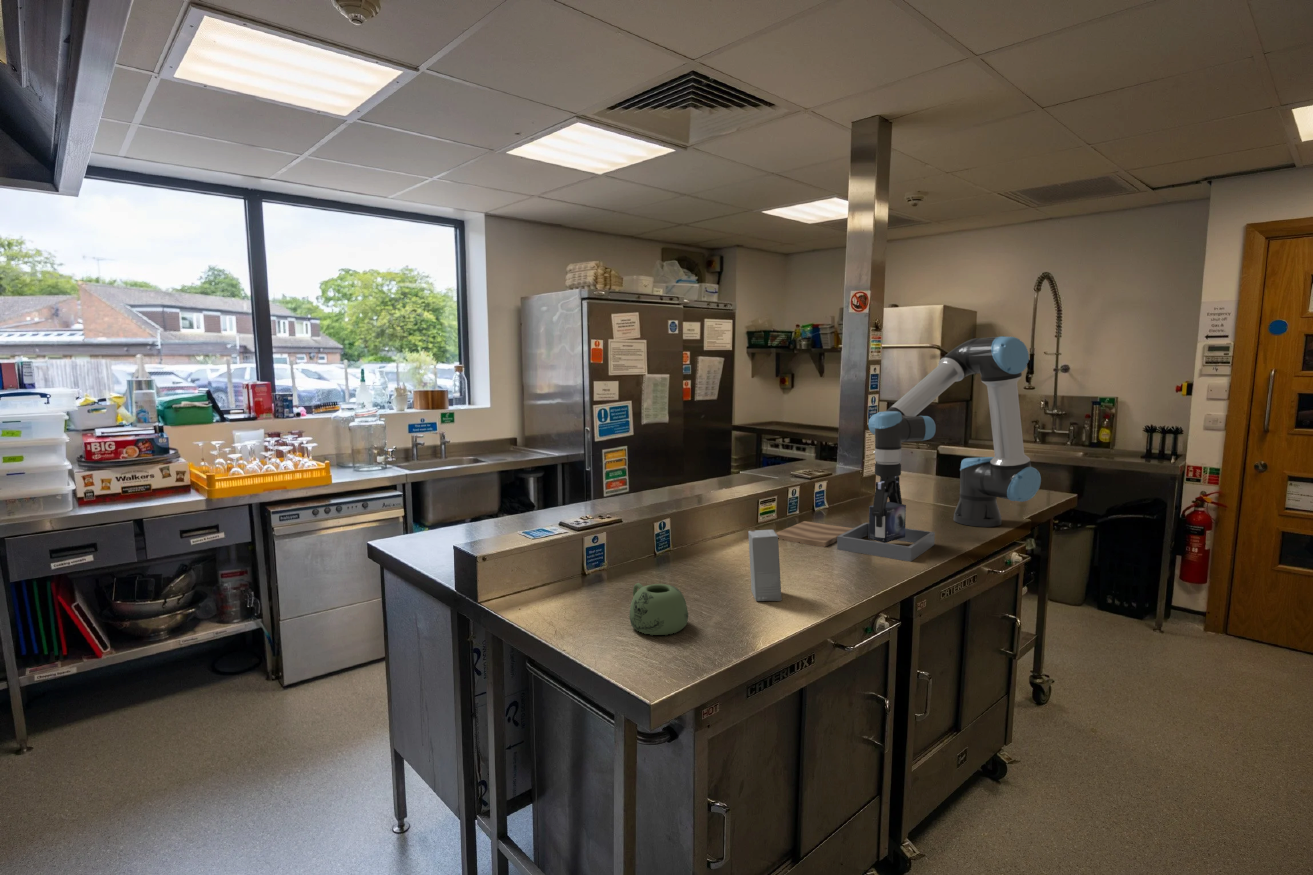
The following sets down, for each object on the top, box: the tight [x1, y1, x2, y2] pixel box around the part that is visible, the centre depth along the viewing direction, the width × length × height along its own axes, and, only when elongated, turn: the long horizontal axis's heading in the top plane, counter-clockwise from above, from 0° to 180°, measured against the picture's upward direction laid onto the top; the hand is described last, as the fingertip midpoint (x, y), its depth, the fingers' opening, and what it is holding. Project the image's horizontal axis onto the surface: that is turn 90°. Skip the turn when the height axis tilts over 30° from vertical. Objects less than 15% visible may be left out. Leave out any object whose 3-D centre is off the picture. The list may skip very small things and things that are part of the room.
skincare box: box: [747, 529, 782, 602], centre depth 158 cm, size 8×7×16 cm
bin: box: [836, 522, 936, 562], centre depth 200 cm, size 22×22×4 cm
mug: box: [629, 582, 689, 636], centre depth 142 cm, size 16×13×9 cm
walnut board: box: [775, 520, 854, 548], centre depth 215 cm, size 22×18×2 cm
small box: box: [867, 501, 907, 543], centre depth 199 cm, size 11×6×10 cm, turn 126°
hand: (887, 532), depth 200 cm, fingers closed on small box, 11 cm apart
